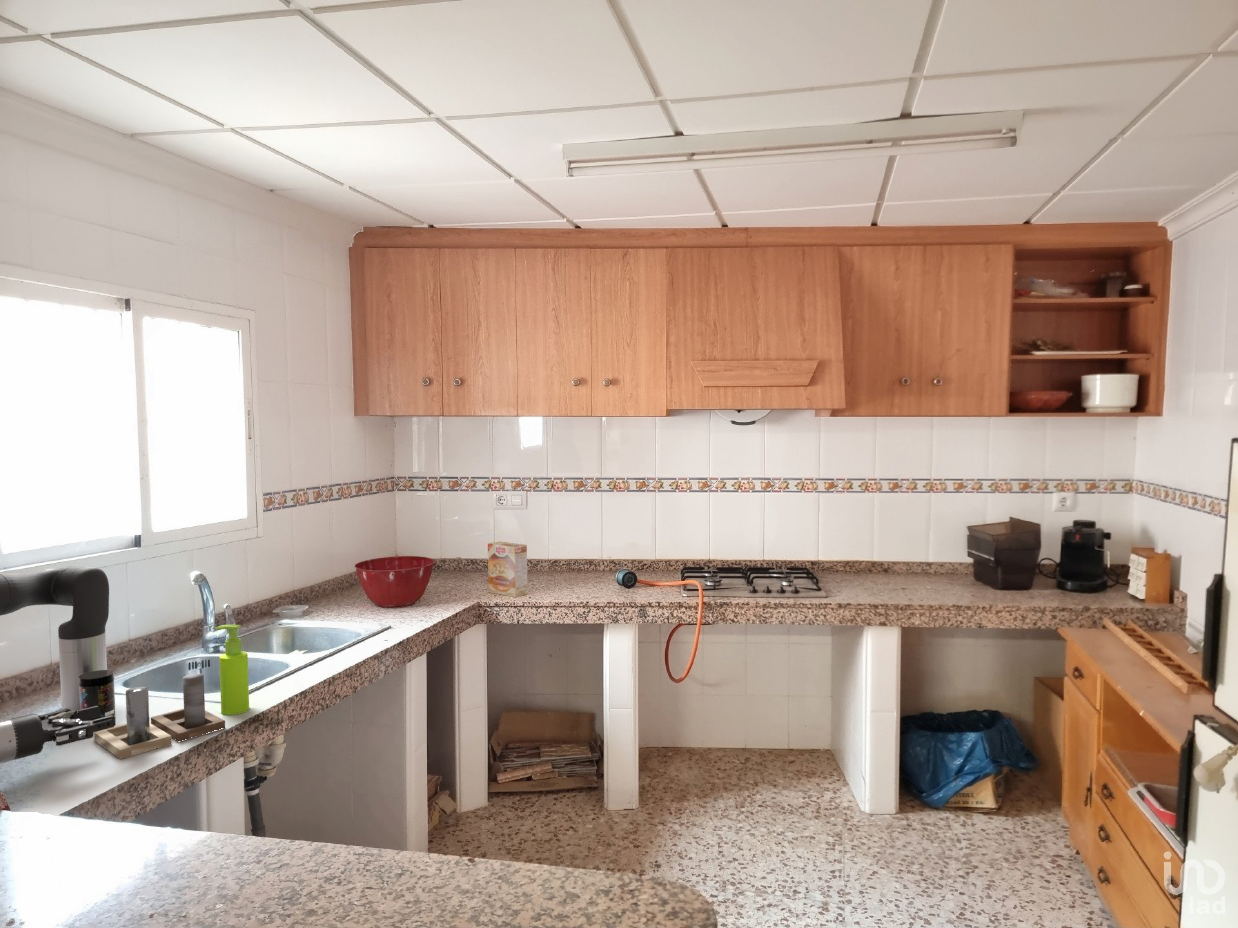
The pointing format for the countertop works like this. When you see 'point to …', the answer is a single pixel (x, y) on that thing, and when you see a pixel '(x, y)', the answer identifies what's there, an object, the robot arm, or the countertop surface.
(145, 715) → the pin
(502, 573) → the coffeecake box
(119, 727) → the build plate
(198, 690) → the pattern plate
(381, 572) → the mixing bowl
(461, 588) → the countertop surface
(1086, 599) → the countertop surface
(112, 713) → the supplement container
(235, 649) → the soap dispenser
